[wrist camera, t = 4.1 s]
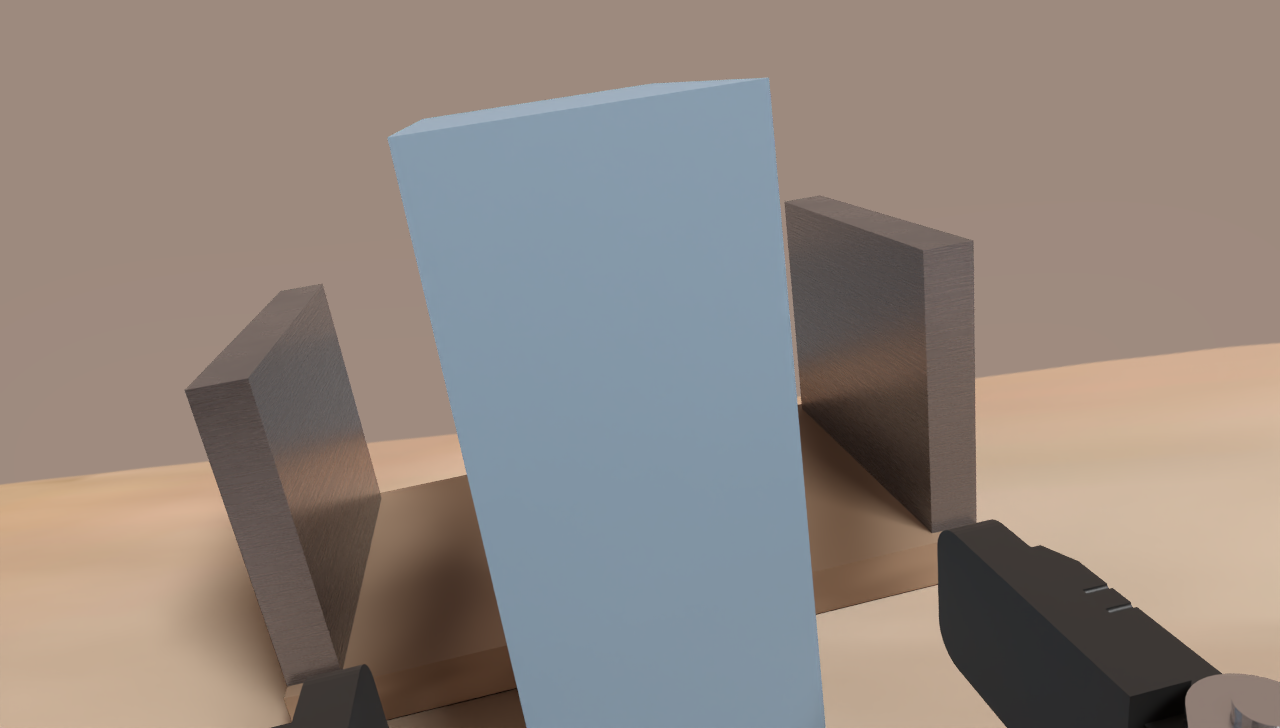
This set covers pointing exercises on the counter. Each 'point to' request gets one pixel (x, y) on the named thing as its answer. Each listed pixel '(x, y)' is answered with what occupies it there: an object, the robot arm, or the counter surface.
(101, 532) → the counter surface
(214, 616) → the counter surface
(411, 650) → the book stand
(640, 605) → the book
